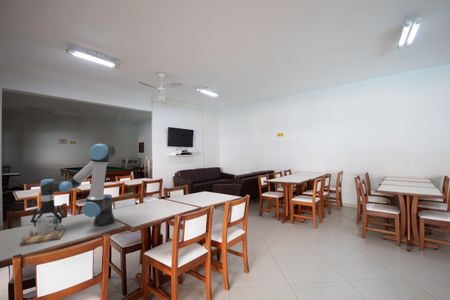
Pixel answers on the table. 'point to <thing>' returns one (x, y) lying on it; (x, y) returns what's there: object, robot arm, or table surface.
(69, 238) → the table surface
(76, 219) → the table surface
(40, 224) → the light bulb box
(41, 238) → the dowel base
